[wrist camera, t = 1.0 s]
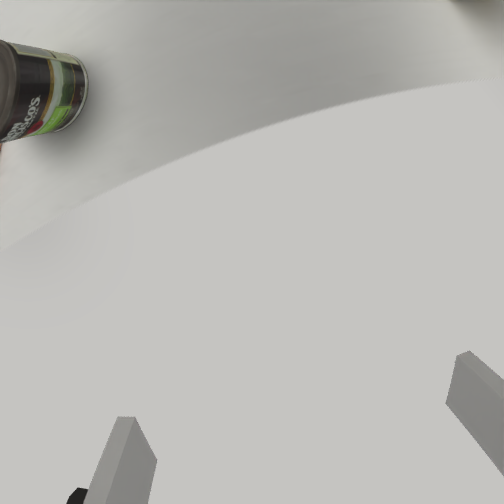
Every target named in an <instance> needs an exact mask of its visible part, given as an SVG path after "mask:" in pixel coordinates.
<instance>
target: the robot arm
mask: <svg viewBox="0 0 504 504" xmlns="http://www.w3.org/2000/svg"><path fill="white" fill-rule="evenodd" d="M446 405H447V406H448V407H449V408H450V409H451V411H452V412H453V413H454V414H455V415H456V416H457V418H458V419H459V420H460V422H461V423H462V424H463V425H464V426H465V428H466V429H467V430H468V431H469V433H470V434H471V435H472V436H473V438H474V439H475V440H476V441H477V443H478V444H479V445H480V446H481V448H482V449H483V450H484V451H485V453H486V454H487V455H488V456H489V458H490V459H491V460H492V461H493V463H494V464H495V466H496V467H497V468H498V469H499V471H500V472H501V473H502V475H503V476H504V380H503V379H502V378H501V377H500V376H499V375H497V374H496V373H495V372H494V371H493V370H492V369H491V368H489V367H488V366H487V365H486V364H485V363H484V362H482V361H481V360H480V359H479V358H478V357H477V356H475V355H474V354H473V353H472V352H471V351H467V352H465V353H462V354H460V355H458V356H457V357H456V362H455V367H454V371H453V376H452V380H451V384H450V388H449V392H448V396H447V400H446ZM156 463H157V459H156V457H155V455H154V453H153V451H152V450H151V448H150V446H149V444H148V442H147V440H146V438H145V436H144V434H143V432H142V430H141V428H140V426H139V424H138V422H137V420H136V418H135V417H118V418H117V420H116V422H115V425H114V427H113V429H112V432H111V434H110V436H109V439H108V441H107V444H106V447H105V449H104V451H103V454H102V456H101V459H100V461H99V464H98V466H97V469H96V471H95V474H94V476H93V479H92V481H91V484H90V487H89V489H83V488H77V489H76V490H75V491H74V492H73V493H72V494H71V496H69V499H68V501H67V504H148V499H149V495H150V491H151V486H152V481H153V477H154V472H155V468H156Z"/></svg>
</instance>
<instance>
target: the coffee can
mask: <svg viewBox="0 0 504 504" xmlns="http://www.w3.org/2000/svg"><path fill="white" fill-rule="evenodd" d="M87 91H88V78H87V73H86V70H85V68H84V66H83V64H82V63H81V62H80V61H79V60H78V59H77V58H76V57H74V56H72V55H69V54H64V53H58V52H54V51H50V50H45V49H41V48H36V47H31V46H26V45H21V44H15V43H9V42H5V41H3V40H0V144H1V143H5V142H8V141H12V140H16V139H20V138H25V137H29V136H34V135H38V134H44V133H52V132H57V131H60V130H62V129H64V128H65V127H67V126H68V125H70V124H71V123H72V122H73V121H74V120H75V118H76V117H77V116H78V114H79V113H80V111H81V109H82V107H83V105H84V103H85V100H86V96H87Z"/></svg>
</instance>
